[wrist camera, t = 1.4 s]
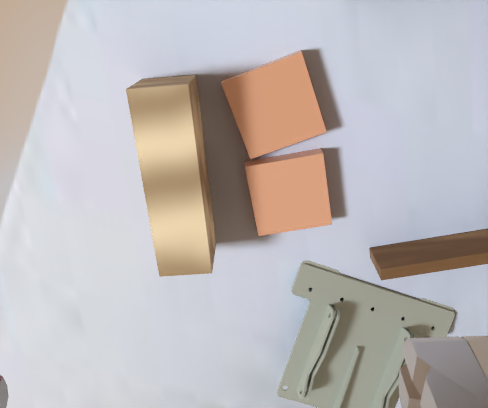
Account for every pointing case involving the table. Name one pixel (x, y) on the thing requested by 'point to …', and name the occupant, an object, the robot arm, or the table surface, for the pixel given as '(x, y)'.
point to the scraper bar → (174, 172)
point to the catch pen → (431, 254)
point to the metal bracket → (354, 340)
